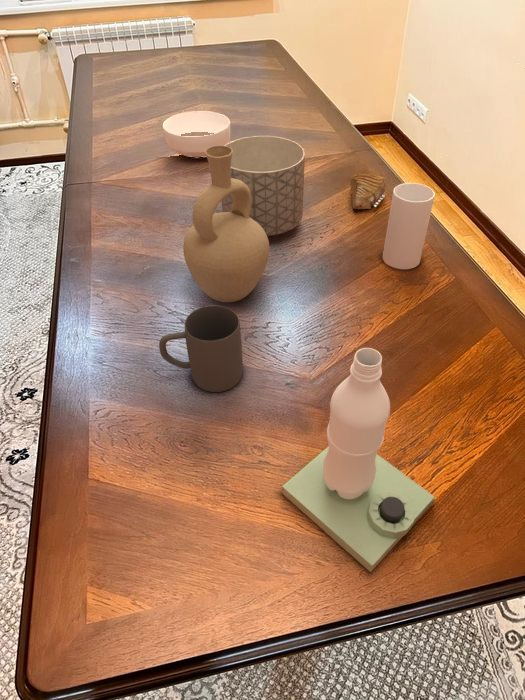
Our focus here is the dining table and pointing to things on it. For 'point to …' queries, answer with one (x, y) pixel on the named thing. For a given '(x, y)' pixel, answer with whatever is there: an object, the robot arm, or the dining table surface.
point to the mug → (210, 348)
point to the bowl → (196, 123)
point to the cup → (407, 225)
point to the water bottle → (356, 427)
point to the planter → (270, 180)
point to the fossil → (367, 190)
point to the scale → (359, 509)
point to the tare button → (392, 509)
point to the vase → (225, 236)
